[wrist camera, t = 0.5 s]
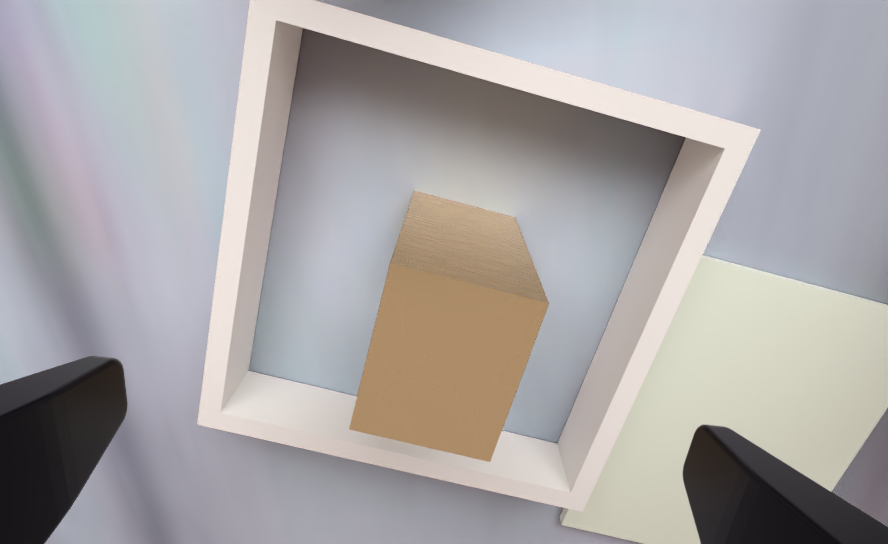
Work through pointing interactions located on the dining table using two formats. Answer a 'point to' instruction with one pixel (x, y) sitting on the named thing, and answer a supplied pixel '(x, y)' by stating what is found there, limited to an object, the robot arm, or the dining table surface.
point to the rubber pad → (743, 394)
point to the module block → (451, 330)
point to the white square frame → (329, 412)
